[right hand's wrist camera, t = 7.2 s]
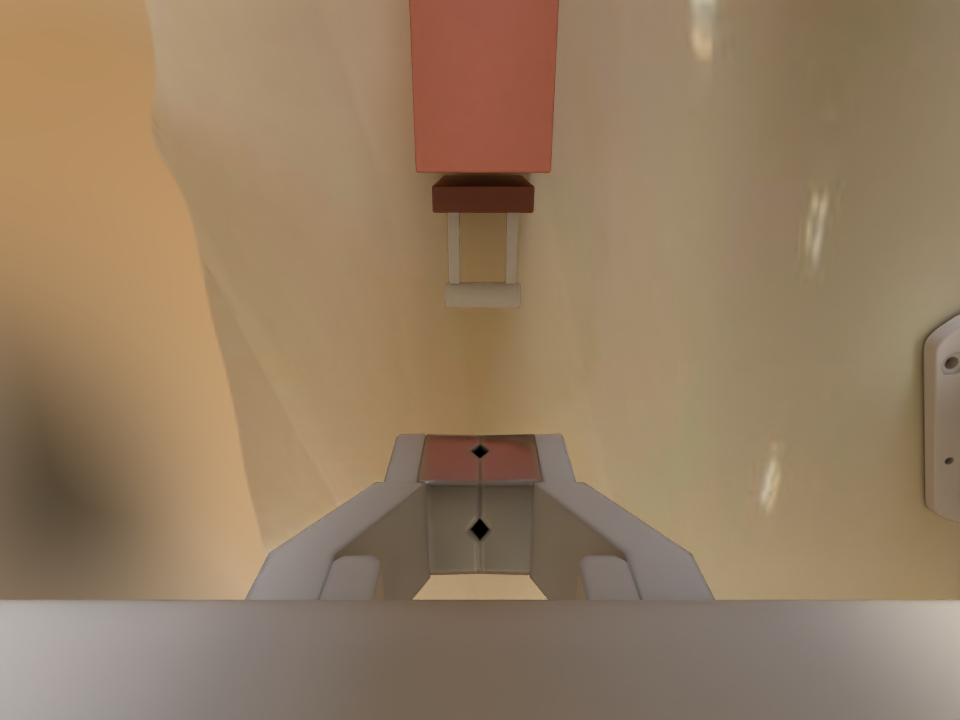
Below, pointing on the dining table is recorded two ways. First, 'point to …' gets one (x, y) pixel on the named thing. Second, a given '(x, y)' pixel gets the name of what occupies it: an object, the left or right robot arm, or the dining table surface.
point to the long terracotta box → (483, 84)
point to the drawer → (482, 198)
